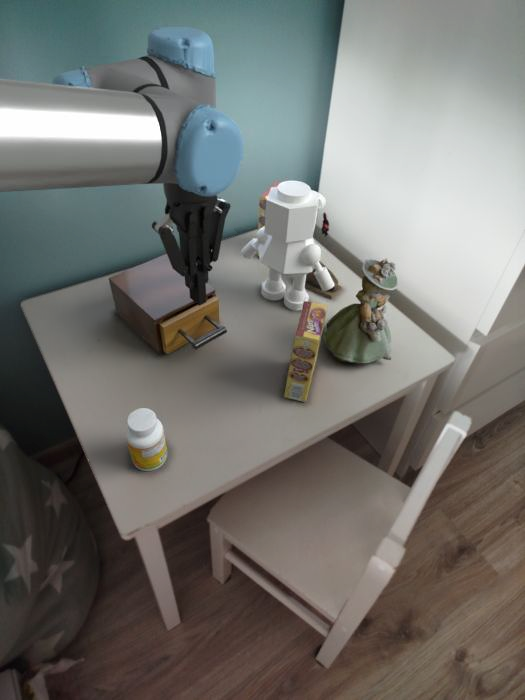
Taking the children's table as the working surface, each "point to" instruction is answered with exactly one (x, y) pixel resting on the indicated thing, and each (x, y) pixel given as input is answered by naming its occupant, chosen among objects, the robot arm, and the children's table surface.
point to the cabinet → (151, 297)
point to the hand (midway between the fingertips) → (198, 299)
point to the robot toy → (290, 243)
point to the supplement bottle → (146, 440)
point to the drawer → (191, 326)
